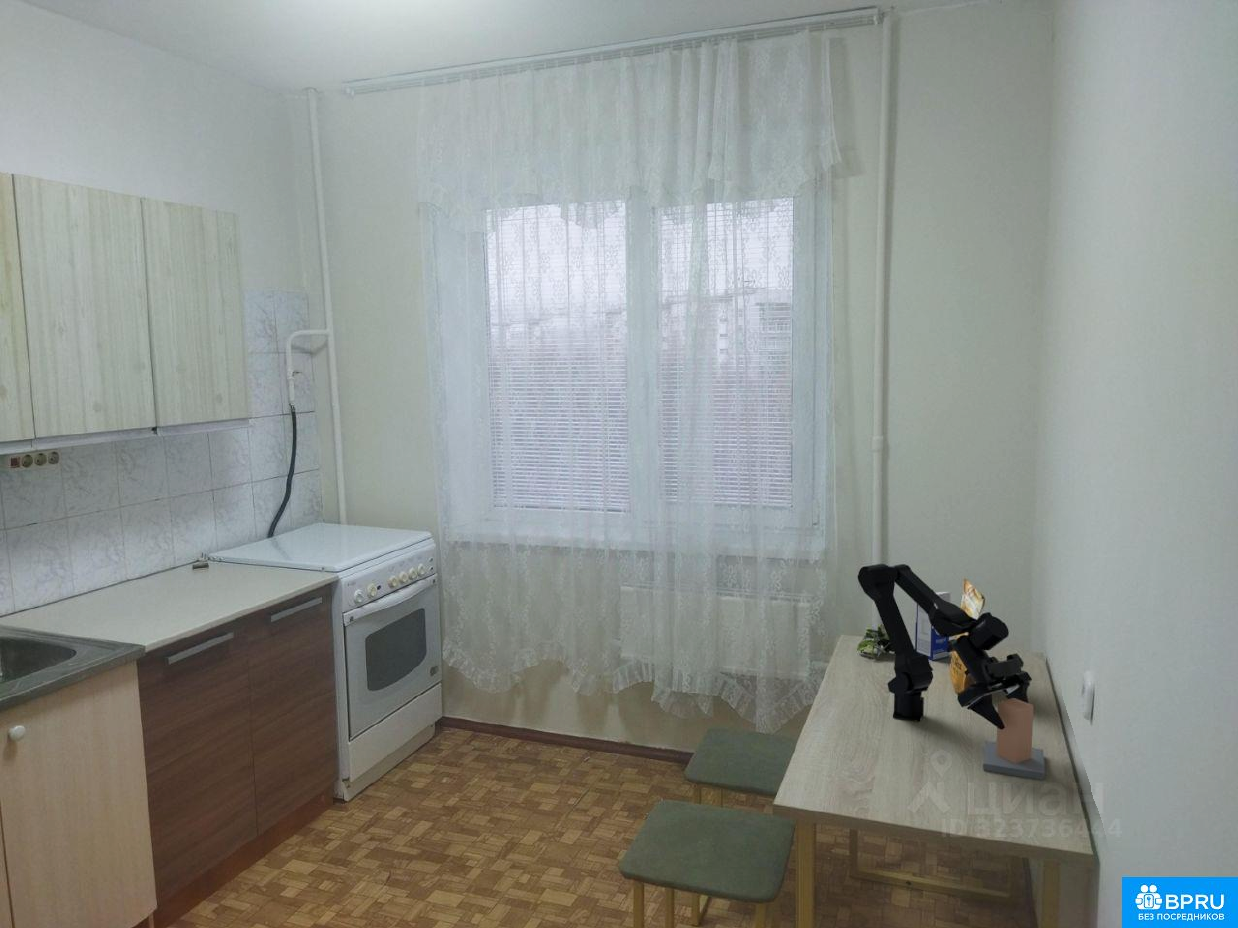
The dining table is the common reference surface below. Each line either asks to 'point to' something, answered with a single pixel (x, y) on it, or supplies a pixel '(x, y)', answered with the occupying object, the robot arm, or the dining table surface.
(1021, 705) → the terracotta block
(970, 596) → the pancake mix bag
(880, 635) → the green leafy clump
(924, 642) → the milk carton
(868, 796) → the dining table surface
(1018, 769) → the slate board
